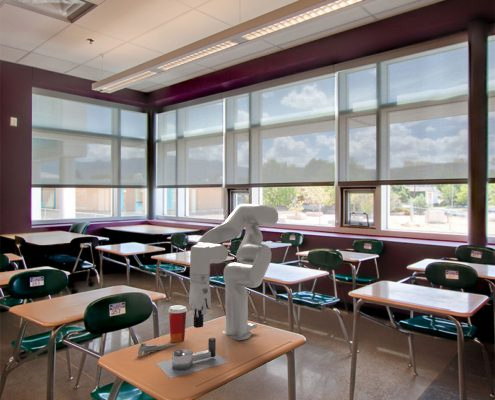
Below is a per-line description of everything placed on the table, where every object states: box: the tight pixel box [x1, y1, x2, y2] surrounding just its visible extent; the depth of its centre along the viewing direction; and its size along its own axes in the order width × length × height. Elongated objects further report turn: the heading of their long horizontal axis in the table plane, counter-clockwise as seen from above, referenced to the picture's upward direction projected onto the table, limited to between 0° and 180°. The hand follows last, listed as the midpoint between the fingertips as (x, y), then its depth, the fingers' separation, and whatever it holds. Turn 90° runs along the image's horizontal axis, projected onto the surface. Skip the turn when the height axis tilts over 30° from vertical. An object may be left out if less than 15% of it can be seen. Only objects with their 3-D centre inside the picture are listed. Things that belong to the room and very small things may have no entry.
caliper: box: [137, 342, 178, 358], centre depth 144 cm, size 20×1×6 cm, turn 136°
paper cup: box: [167, 304, 188, 344], centre depth 156 cm, size 8×8×14 cm
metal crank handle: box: [171, 337, 217, 370], centre depth 132 cm, size 16×7×7 cm, turn 123°
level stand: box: [155, 352, 229, 379], centre depth 132 cm, size 22×13×2 cm, turn 123°
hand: (198, 326), depth 141 cm, fingers closed
